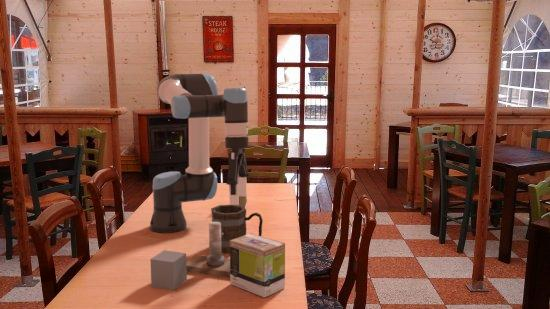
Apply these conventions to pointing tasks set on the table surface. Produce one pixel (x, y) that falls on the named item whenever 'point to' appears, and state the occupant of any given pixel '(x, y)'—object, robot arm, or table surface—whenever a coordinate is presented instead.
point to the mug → (232, 223)
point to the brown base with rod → (211, 256)
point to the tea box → (257, 264)
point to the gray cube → (168, 270)
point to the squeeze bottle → (242, 198)
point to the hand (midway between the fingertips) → (238, 200)
